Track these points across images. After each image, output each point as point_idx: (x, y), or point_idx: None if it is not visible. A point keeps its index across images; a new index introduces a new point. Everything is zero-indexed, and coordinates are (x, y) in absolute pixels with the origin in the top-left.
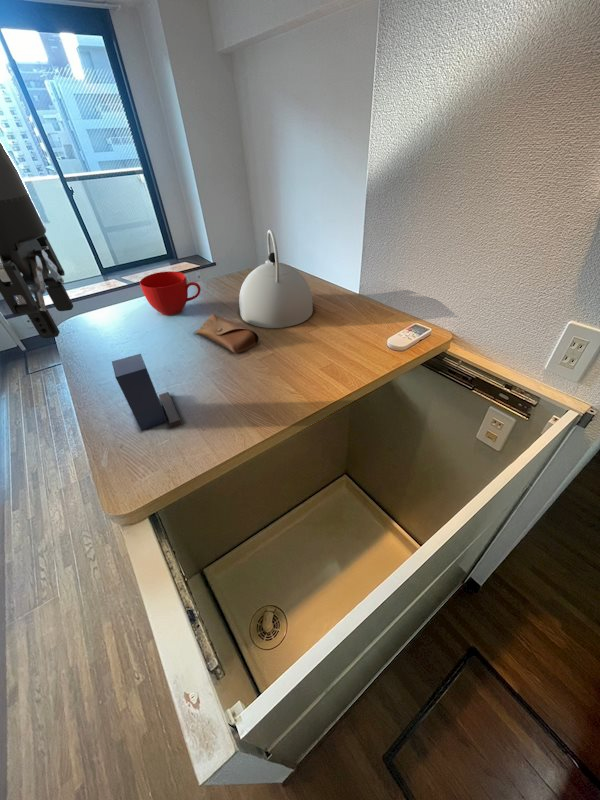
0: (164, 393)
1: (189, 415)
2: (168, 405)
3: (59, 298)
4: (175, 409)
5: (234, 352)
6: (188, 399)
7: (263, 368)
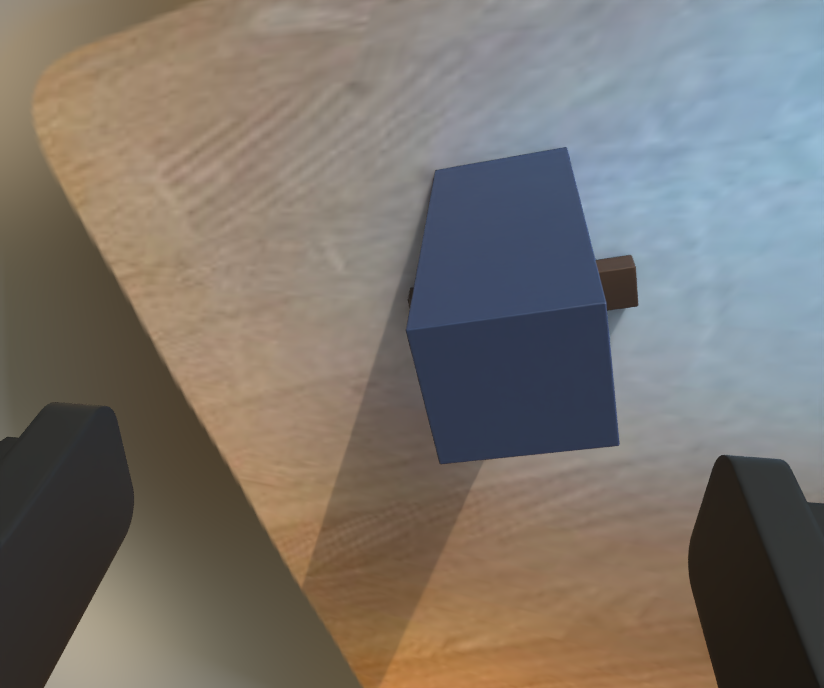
0: (633, 290)
1: None
2: None
3: (742, 632)
4: None
5: None
6: None
7: (636, 613)
